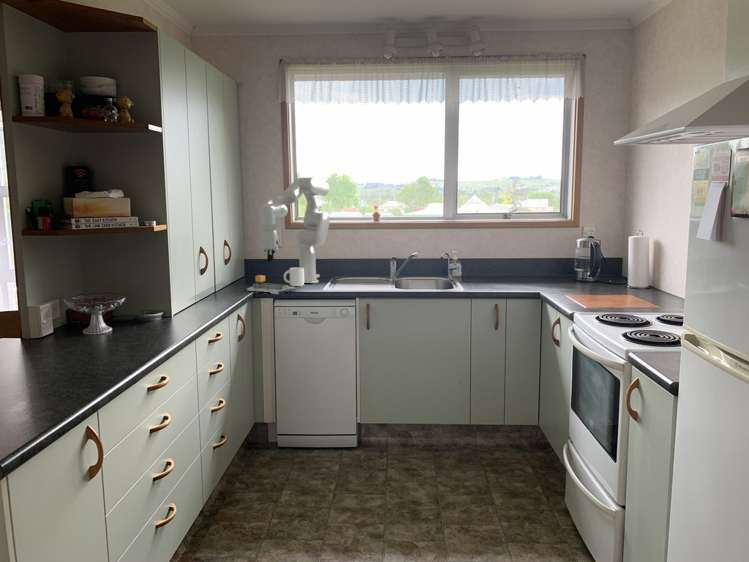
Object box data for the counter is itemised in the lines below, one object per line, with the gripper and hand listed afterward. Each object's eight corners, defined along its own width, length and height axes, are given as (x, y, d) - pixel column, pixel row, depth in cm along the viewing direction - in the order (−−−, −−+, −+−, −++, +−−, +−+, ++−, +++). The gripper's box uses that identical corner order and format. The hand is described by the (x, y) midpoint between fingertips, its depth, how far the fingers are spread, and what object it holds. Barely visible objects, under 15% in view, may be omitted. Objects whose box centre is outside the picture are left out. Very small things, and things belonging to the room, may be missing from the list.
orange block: (260, 285, 336) (260, 275, 335) (265, 285, 334) (265, 275, 333) (255, 286, 332) (255, 276, 331) (260, 286, 330) (260, 276, 330)
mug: (282, 287, 344) (281, 269, 342) (285, 284, 352) (285, 267, 350) (302, 287, 342) (302, 269, 341) (306, 284, 350) (305, 267, 349)
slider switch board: (263, 287, 341) (263, 281, 341) (294, 290, 331) (293, 284, 331) (247, 291, 329) (247, 285, 328) (278, 294, 319) (278, 287, 318)
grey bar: (294, 290, 331) (294, 288, 330) (296, 290, 330) (296, 288, 330) (279, 294, 319) (279, 291, 319) (281, 294, 318) (281, 291, 318)
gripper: (253, 228, 325) (255, 262, 329) (275, 229, 318) (277, 263, 322) (262, 227, 332) (264, 260, 335) (284, 227, 325) (286, 261, 328)
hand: (270, 261), depth 328 cm, fingers closed
